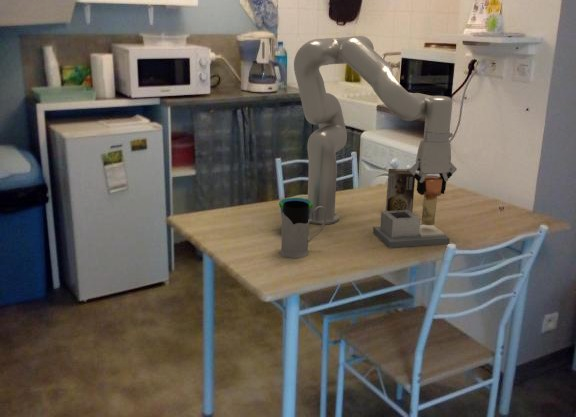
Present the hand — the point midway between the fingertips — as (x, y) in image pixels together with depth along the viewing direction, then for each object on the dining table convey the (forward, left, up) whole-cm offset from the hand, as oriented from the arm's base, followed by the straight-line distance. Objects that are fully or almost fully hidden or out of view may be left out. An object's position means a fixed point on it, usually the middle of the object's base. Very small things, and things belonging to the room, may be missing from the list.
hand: (430, 192), depth 195 cm
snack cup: (-41, +12, -15) cm, 45 cm away
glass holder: (-43, -5, -15) cm, 45 cm away
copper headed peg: (0, 0, -10) cm, 10 cm away
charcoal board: (-6, 0, -15) cm, 16 cm away
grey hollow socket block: (-10, 0, -13) cm, 16 cm away
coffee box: (0, +23, -15) cm, 28 cm away
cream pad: (0, 0, -13) cm, 13 cm away
